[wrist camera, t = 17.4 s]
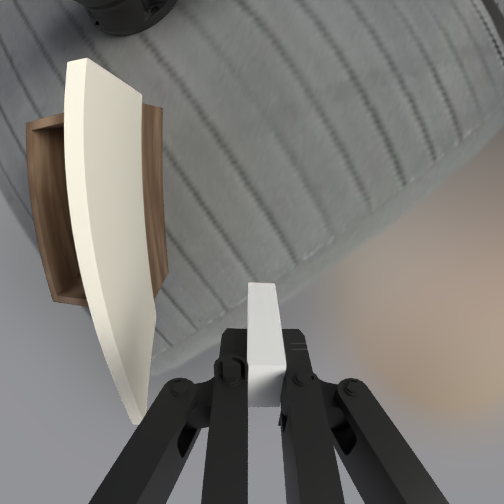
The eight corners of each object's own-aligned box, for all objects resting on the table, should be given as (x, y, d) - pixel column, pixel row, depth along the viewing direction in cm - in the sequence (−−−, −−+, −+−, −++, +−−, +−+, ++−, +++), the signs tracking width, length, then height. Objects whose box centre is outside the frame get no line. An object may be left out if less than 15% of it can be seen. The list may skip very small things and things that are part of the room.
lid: (131, 95, 26) (142, 94, 26) (147, 316, 37) (156, 316, 37) (67, 62, 10) (87, 57, 10) (132, 424, 21) (145, 424, 21)
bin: (162, 108, 37) (131, 101, 26) (168, 272, 48) (147, 312, 36) (71, 120, 37) (25, 123, 26) (86, 267, 47) (53, 301, 36)
